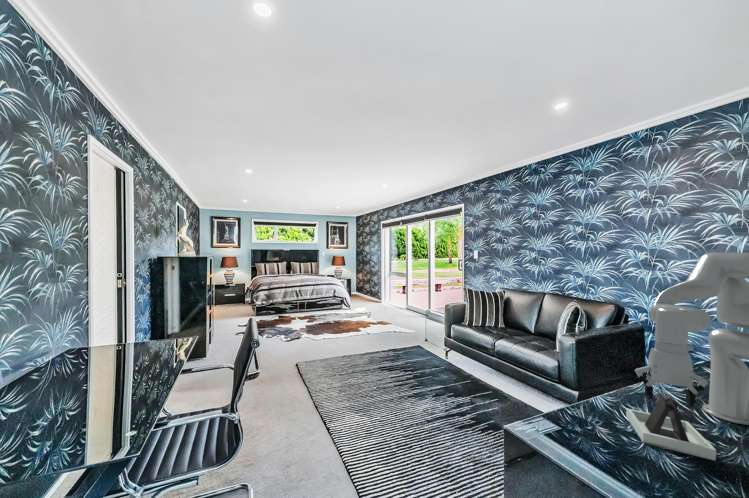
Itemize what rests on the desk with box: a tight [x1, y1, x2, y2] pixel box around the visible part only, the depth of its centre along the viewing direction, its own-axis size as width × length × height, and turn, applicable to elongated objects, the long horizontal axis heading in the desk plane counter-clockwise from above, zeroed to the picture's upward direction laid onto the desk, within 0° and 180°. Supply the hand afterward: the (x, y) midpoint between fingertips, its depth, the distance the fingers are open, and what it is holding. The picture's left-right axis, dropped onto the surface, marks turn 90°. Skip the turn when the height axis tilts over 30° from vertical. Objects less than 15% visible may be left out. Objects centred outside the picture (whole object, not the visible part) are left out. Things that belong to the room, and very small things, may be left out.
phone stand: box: [645, 392, 689, 442], centre depth 98 cm, size 9×6×12 cm, turn 63°
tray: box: [625, 408, 717, 461], centre depth 98 cm, size 16×17×3 cm
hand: (669, 401), depth 98 cm, fingers open, 9 cm apart
